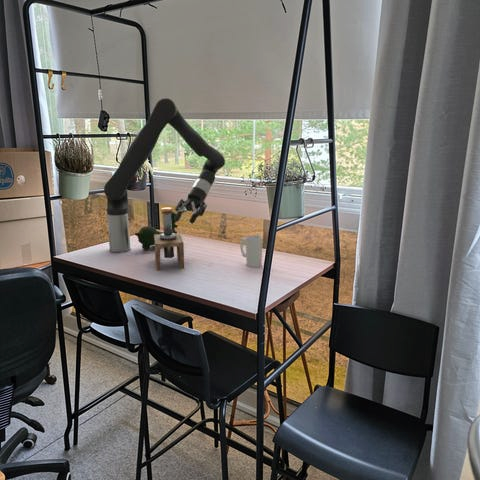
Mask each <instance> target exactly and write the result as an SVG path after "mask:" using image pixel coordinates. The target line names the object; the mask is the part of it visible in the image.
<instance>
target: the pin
mask: <svg viewBox="0 0 480 480" xmlns="http://www.w3.org/2000/svg"><path fill="white" fill-rule="evenodd" d="M160 211H161V213H162V212H163V214H162V220H163V221H162V223H163V232H164V233H163V234H160V239H161V240H174V239H176V238H177V237H176V234H175V233H172V218H171V211H172V212H174V209H173V207H162V208H161V209H160ZM174 249H175V247H163V255H164V258H165V259H173V258H174V257H175V253H174V251H175V250H174Z"/></svg>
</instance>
